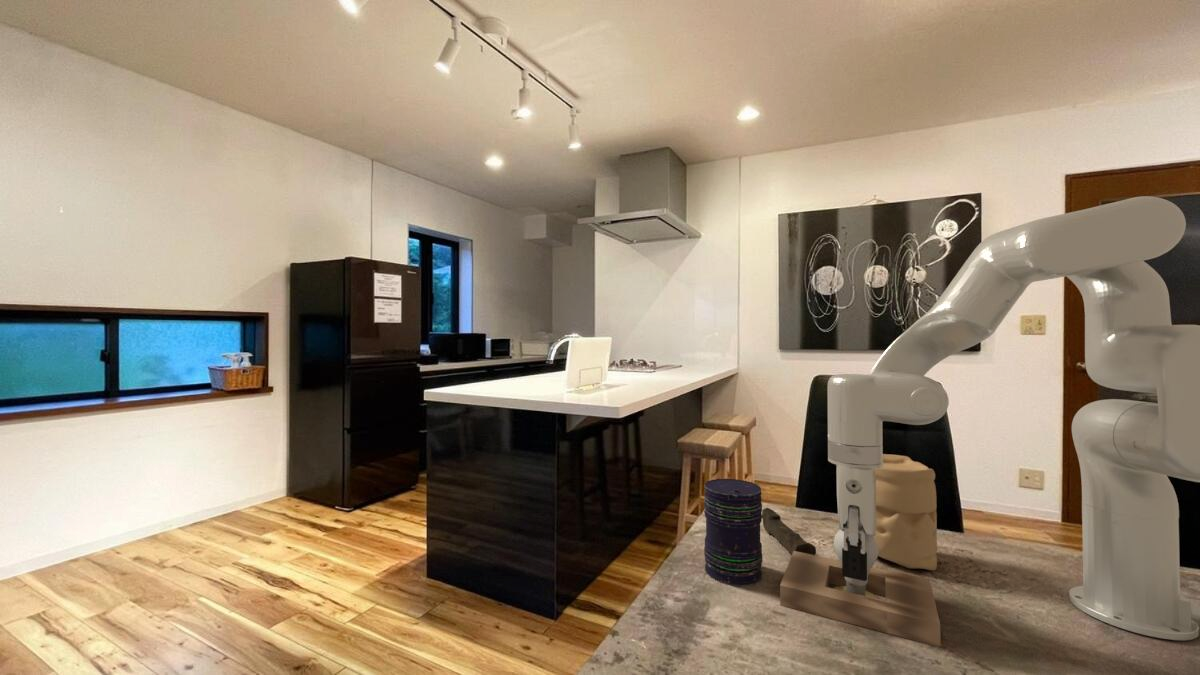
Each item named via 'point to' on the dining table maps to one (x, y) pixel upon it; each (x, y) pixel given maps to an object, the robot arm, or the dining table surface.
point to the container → (906, 513)
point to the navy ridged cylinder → (733, 531)
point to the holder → (862, 598)
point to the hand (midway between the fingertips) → (855, 565)
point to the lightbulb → (872, 554)
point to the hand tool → (785, 533)
